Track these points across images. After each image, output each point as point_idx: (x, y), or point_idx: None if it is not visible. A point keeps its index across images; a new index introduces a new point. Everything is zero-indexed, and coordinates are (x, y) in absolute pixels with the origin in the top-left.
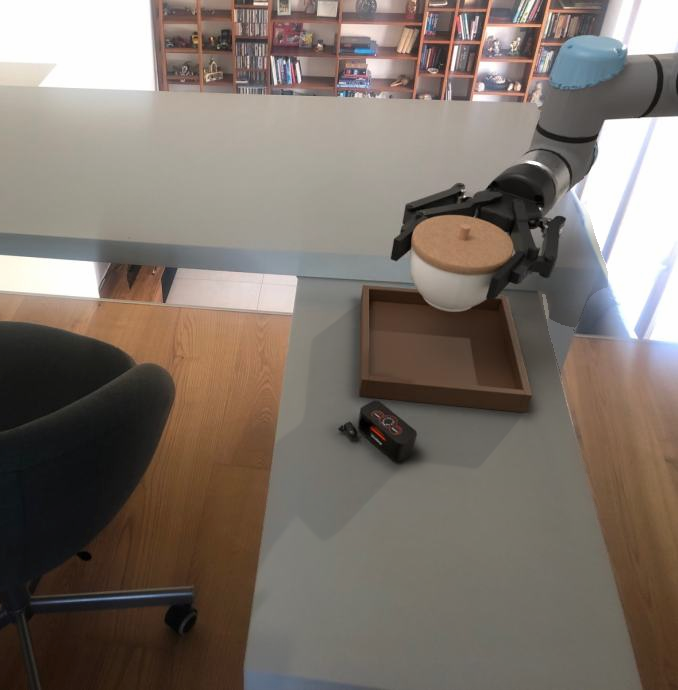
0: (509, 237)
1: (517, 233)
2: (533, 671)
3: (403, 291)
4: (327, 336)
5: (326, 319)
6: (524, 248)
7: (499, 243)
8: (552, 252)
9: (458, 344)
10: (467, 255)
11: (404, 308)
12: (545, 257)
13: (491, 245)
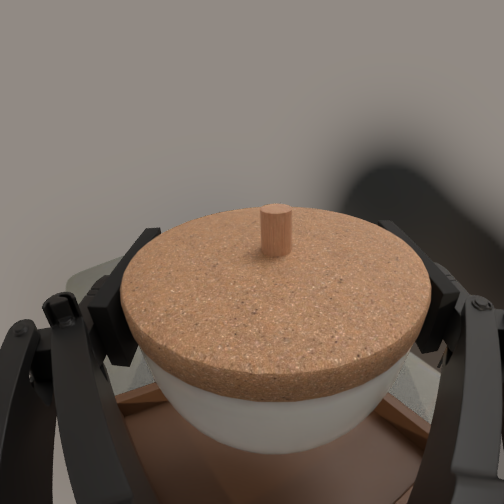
0: (137, 322)
1: (123, 455)
2: (108, 263)
3: (406, 492)
4: (402, 382)
5: (432, 401)
6: (87, 340)
7: (164, 276)
8: (12, 347)
9: (245, 483)
10: (226, 221)
11: (381, 495)
12: (35, 327)
13: (185, 261)
